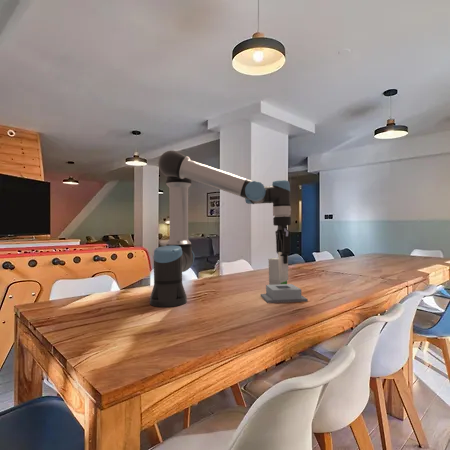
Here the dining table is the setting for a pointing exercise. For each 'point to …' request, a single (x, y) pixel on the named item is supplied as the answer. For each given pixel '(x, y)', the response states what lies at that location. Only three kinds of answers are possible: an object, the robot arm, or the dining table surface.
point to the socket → (283, 294)
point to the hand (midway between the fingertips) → (283, 270)
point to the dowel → (282, 274)
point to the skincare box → (274, 272)
